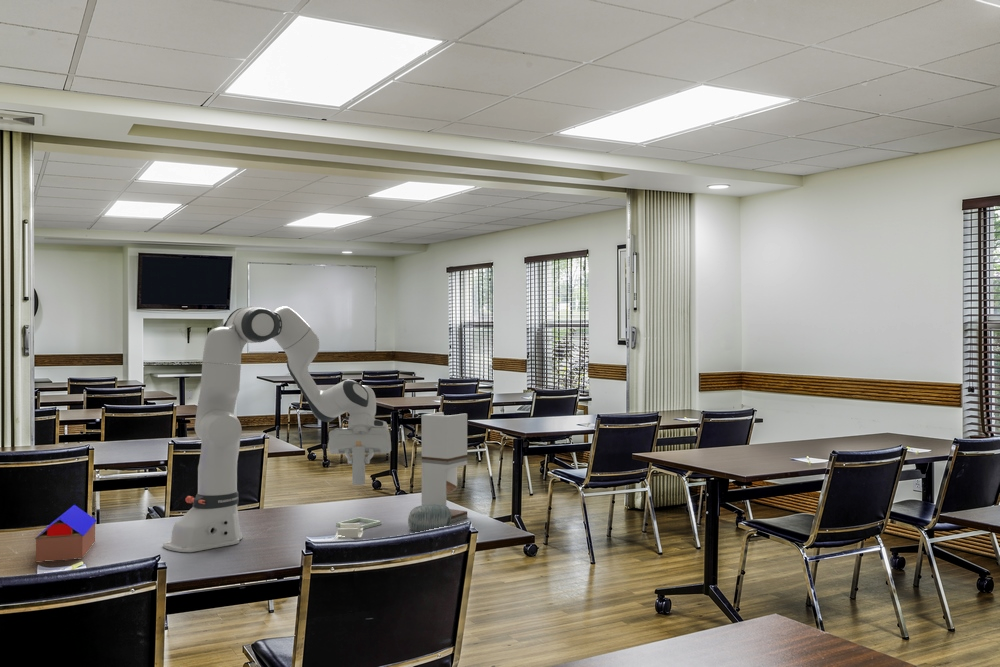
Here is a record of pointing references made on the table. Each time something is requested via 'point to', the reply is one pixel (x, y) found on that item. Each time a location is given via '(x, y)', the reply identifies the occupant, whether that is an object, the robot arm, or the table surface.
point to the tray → (370, 521)
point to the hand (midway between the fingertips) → (358, 462)
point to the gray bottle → (358, 464)
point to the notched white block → (442, 457)
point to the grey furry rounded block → (429, 517)
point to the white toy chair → (350, 530)
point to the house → (66, 536)
